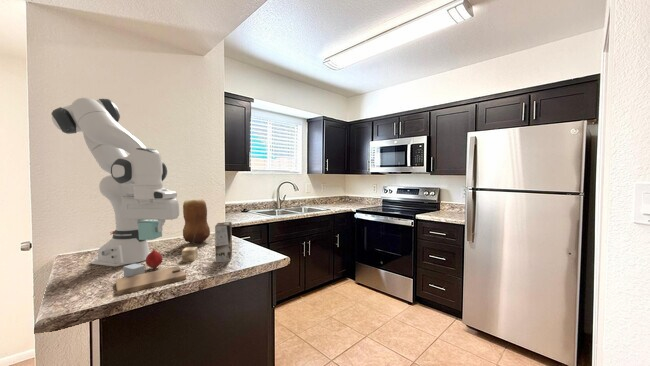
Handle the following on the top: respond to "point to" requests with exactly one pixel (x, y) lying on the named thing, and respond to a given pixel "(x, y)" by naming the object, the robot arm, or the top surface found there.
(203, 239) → the butternut squash
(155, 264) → the onion
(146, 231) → the teal block
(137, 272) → the slate block
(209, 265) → the top surface
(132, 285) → the board
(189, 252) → the beech block
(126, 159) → the robot arm
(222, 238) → the coffee box
